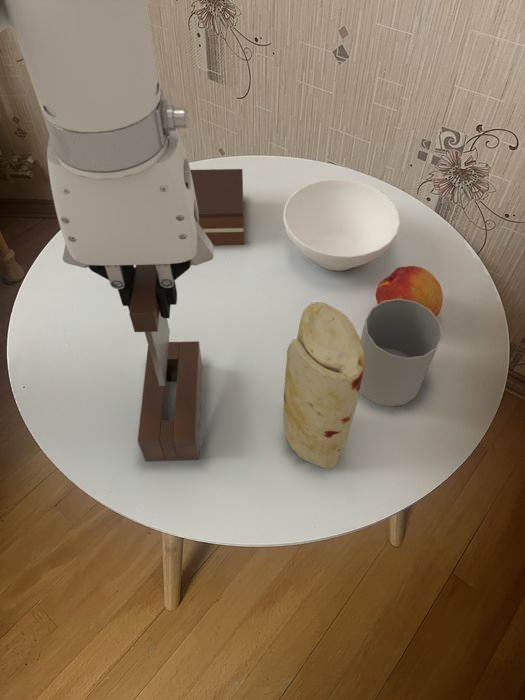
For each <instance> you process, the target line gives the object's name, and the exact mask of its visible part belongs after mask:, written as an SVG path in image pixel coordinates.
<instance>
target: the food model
mask: <svg viewBox="0 0 525 700" xmlns="http://www.w3.org/2000/svg"><path fill="white" fill-rule="evenodd" d="M360 340H361V337H360V336H359V333H358V332H357V330H356V328H355V326H354V324H353V322H352V321H351V320H350V319H349V318H348V317H347V316H346V314H345V313H343V312H342V311H340V310H338V309H337V308H335V307H333V306H332V305H330V304H328V303H326V302H322V301H316V302H312V303H310V304H308V305H307V306H306V307H305V308H304V309H303V311H302V313H301V317H300V321H299V327H298V332H297V337H296V338H293V339H292V340H291V342H290V343H289V344H288V347H287V350H286V365H285V374H284V375H285V376H284V386H283V412H282V413H283V414H282V418H283V430H284V431H283V432H284V434H285V438H286V441H287V442H288V444H289V446H290V447H291V449H292V451H294V453H295V454H296V455H297V456H298V457H299V458H300V459H302V460H304V461H306V462H308V463H311V464H313V465H315V466H318V467H320V468H321V469H330V468H333V467H335V466H336V465H337V463H338V462H339V460H340V457H341V455H342V452H343V450H344V447H345V445H346V442H347V440H348V437H349V434H350V430H351V427H352V423H353V419H354V416H355V414H356V409H357V405H358V401H359V396H360V385H361V380H362V376H363V372H364V352H363V348H362V344H361V341H360Z"/></svg>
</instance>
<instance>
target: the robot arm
mask: <svg viewBox="0 0 525 700" xmlns="http://www.w3.org/2000/svg"><path fill="white" fill-rule="evenodd" d="M6 29H11V30H13V32H14V36H15V39H16V41H17V44H18V47H19V50H20V53H21V57H22V59H23V62H24V64H25V67H26V70H27V73H28V76H29V80H30V82H31V85H32V87H33V91H34V93H35V97H36V99H37V102H38V105H39V108H40V111H41V114H42V117H43V120H44V123H45V127H46V129H47V132H48V134H49V137H48V141H47V148H46V159H47V168H48V176H49V182H50V189H51V193H52V198H53V199H52V200H53V203H54V209H55V213H56V217H57V220H58V224H59V228H60V230H61V231H60V232H61V234H62V237H63V240H64V243H65V244H64V248H63V249H64V250H63V254H62V261H63V262H64V263H65V264H67V265H72V266H76V267H80V268H84V269H87V268H89V270H90V271H91V272H93V273H95V274H97V275H98V276H100V277H102V278H104V279H105V280H107V281H109V284H110V286H111V287H112V288H113V289H115V290H117V292H118V294H119V298H120V302H121V305H122V307H127V308H128V311H129V312H128V313H130V305H131V298H132V292H133V285H134V278H135V270H136V267H135V266H136V265H151V264H155V266H156V270H157V276H156V285H155V291H156V295H157V300H158V304H159V309H160V315H161V317H163V318H167V319H170V314H171V306H176V305H177V303H178V291H177V284H176V280H177V279H178V278H180V277H181V276H182V275H183V274H184V273H186V272H187V271H188V270H189V269H191V266H195V267H196V266H198V265H200V264H204V263H206V262H210V261H212V260H213V259H214V250H215V249H214V246H215V245H213V244H212V242H211V241H210V240H209V238H208V237H207V235H206V234H205V232H204V231H203V229H202V228H201V226H200V225H199V214H198V207H197V201H196V195H195V190H194V184H193V180H192V175H191V171H190V170H191V167H190V163H189V159H188V156H187V152H186V150H185V147H184V143H183V141H182V138H181V135H180V133H179V130H177V129H187V128H188V127H187V126H188V117H187V116H188V115H187V108H186V106H175V105H174V104H169V102H168V99H165V98H164V97H165V96H164V92H163V88H161V85H160V78H159V71H158V65H157V59H156V53H155V46H154V40H153V33H152V32H153V31H152V26H151V19H150V14H149V7H148V0H0V33H2V32H3V31H4V30H6Z"/></svg>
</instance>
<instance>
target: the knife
mask: <svg viewBox="0 0 525 700" xmlns="http://www.w3.org/2000/svg"><path fill="white" fill-rule="evenodd" d="M135 268H136V270H135V278H134V285H133V292H132V298H131V305H130V312H128V313H129V314H128V315H129V317H130V321H131V324H132V328H133V331H134V333H144V335H145V338H146V342H147V347H148V346H149V350H150V353H151V357H152V361H153V364H154V368H155V371H156V375H157V379H158V382H159V386H165V383H166V370H167V358H168V345H169V342H170V332H171V331H170V326H169V321H168V318H163V317H161V315H160V309H159V304H158V300H157V295H156V291H155V285H156V276H157V270H156V266H155V264H151V265H135Z"/></svg>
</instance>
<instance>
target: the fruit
mask: <svg viewBox="0 0 525 700" xmlns="http://www.w3.org/2000/svg"><path fill="white" fill-rule="evenodd" d="M375 299H376V303H377V305H378V304H380V303H381V302H383V301H386V300H394V299H404V300H409V301H414V302H417V303H419V304H421V305H422V306H424V307H426V308H427V309H429V310H431V312H432V313H433V314H434V315H435V317H436V318H437V317H438V315H439V314H440V312H441V309H442V308H443V302H444V296H443V290H442V286H441V284H440V282H439V281H438V279H437V278H436V277H435V276H434V275H433V274H432V273H431V272H430V271H428V270H427V269H425V268H423V267H421V266H417V265H408V266H407V265H406V266H399V267H397V268H395V269H394V270H393V271H392V273H390V274H389V275H388V276H387V277H385V278H383V280H382V281H380V282H379V283H378V285H377V287H376V291H375Z"/></svg>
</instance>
